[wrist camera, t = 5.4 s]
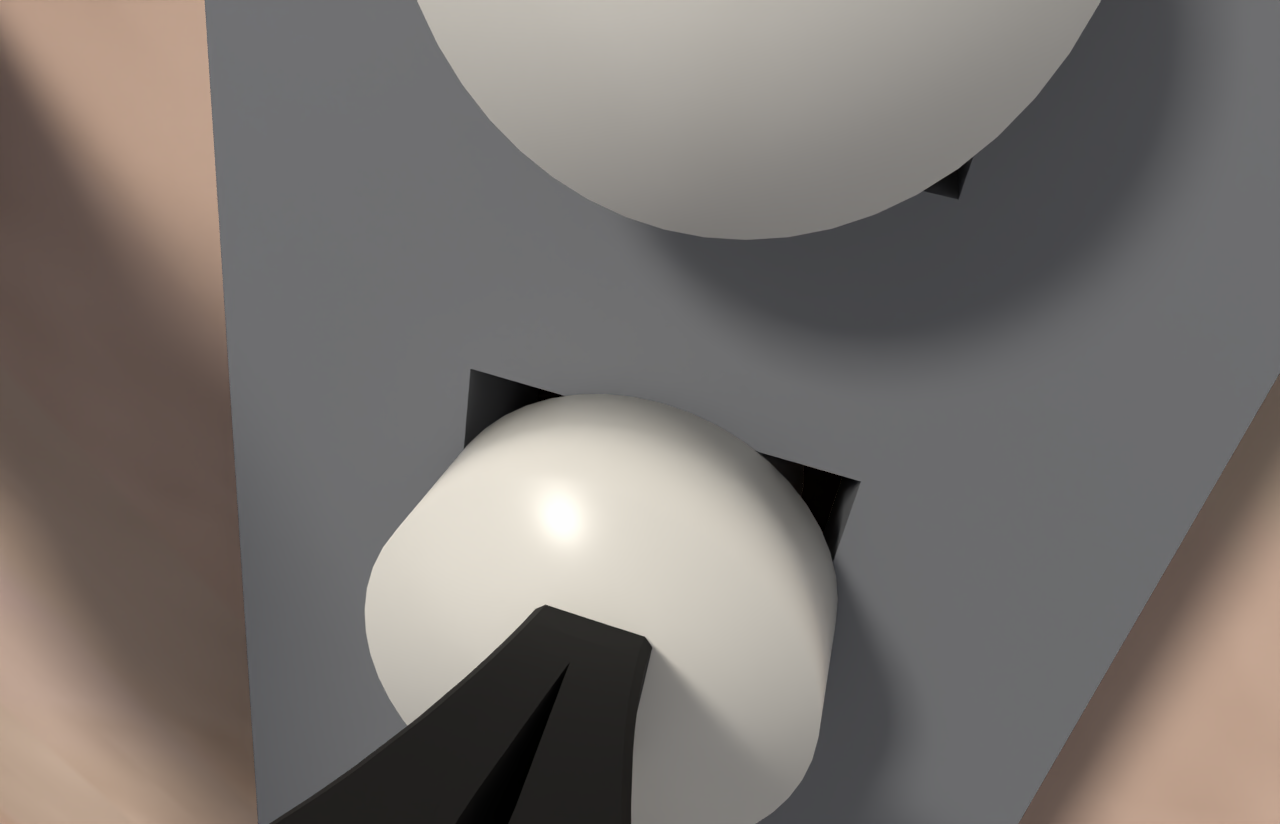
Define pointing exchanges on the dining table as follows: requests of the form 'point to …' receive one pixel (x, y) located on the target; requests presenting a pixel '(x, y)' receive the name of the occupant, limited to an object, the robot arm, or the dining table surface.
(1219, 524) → the dining table surface
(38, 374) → the dining table surface
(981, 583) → the mount
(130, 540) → the dining table surface
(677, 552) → the knob
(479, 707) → the robot arm
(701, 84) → the knob
